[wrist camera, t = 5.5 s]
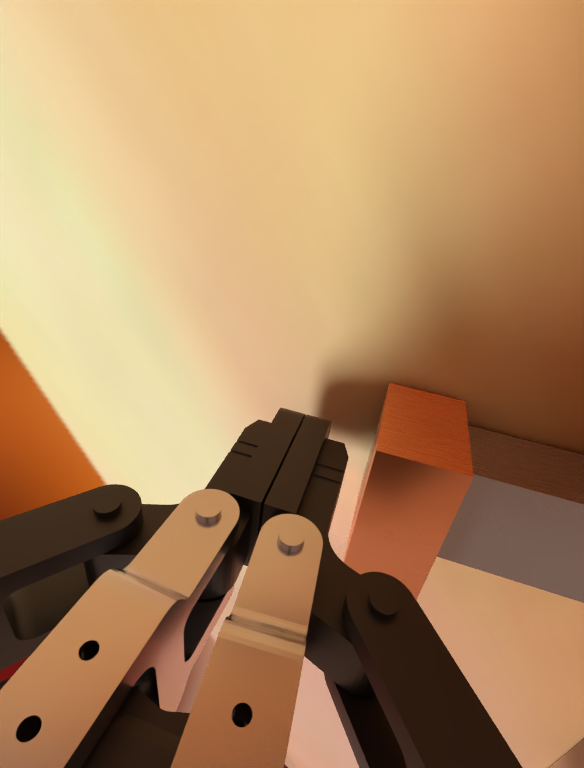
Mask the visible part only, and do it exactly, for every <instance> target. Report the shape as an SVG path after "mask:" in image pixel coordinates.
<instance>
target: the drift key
mask: <svg viewBox="0 0 584 768" xmlns="http://www.w3.org/2000/svg"><path fill="white" fill-rule="evenodd" d="M436 557H440V558H444V559H447V560H450V561H453V562H456V563H459V564H463V565H466V566H469V567H472V568H475V569H479V570H482V571H485V572H488V573H491V574H494V575H498V576H501V577H504V578H507V579H510V580H513V581H517V582H520V583H523V584H526V585H529V586H532V587H536V588H539V589H542V590H545V591H548V592H551V593H555V594H558V595H561V596H564V597H567V598H570V599H574V600H577V601H580V602H583V603H584V455H583V454H579V453H575V452H571V451H567V450H563V449H559V448H555V447H551V446H547V445H543V444H539V443H535V442H531V441H528V440H524V439H520V438H516V437H512V436H508V435H504V434H500V433H496V432H492V431H488V430H484V429H480V428H476V427H473V426H469V425H468V421H467V411H466V402H465V401H462V400H458V399H454V398H450V397H446V396H442V395H438V394H433V393H429V392H425V391H421V390H417V389H413V388H409V387H405V386H401V385H397V384H393V383H389V387H388V390H387V394H386V397H385V401H384V405H383V408H382V412H381V416H380V419H379V423H378V426H377V430H376V434H375V437H374V441H373V444H372V448H371V452H370V455H369V459H368V462H367V466H366V470H365V473H364V477H363V480H362V484H361V488H360V491H359V495H358V499H357V503H356V508H355V512H354V517H353V521H352V526H351V530H350V535H349V539H348V544H347V548H346V553H345V557H344V563H345V564H346V565H347V566H349V567H350V568H352V569H353V570H355V571H356V572H357V573H359V574H360V575H361V574H363V573H367V572H382V573H385V574H388V575H391V576H393V577H395V578H396V579H398V580H399V581H401V582H402V583H403V584H404V585H405V586H406V587H407V588H408V589H409V590H410V592H411V593H412V595H413V596H414V598H415V599H417V597H418V595H419V593H420V591H421V589H422V587H423V584H424V582H425V580H426V578H427V576H428V574H429V572H430V569H431V567H432V565H433V563H434V561H435V559H436Z"/></svg>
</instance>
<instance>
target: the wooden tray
mask: <svg viewBox="0 0 584 768" xmlns="http://www.w3.org/2000/svg"><path fill="white" fill-rule="evenodd" d="M549 768H584V739H583V740H581V741H580V742H579V743H578V744H577V745H575V746H574V747H573V748H572V749H571V750H570V751H568V752H567V753H566V754H565V755H564V756H562V757H561V758H560V759H559V760H558V761H556V762H555V763H554V764H553V765H552V766H550V767H549Z"/></svg>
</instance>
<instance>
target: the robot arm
mask: <svg viewBox="0 0 584 768" xmlns="http://www.w3.org/2000/svg"><path fill="white" fill-rule="evenodd" d="M330 427H331V421H328V420H325V419H321V418H317V417H314V416H310V415H305V414H302V413H299V412H295V411H291V410H288V409H284V408H280V409H279V411H278V413H277V414H276V416H275V418H274V419H273V421H272V423H269V422H266V421H262V420H257V421H256V422H254V423H253V424H251V425H249V426H248V427H246V428H245V429H244V431H243V432H242V434H241V435H240V437H239V438H238V440H237V442H236V443H235V444H234V446H233V447H232V449H231V451H230V452H229V453H228V455H227V456H226V458H225V459H224V461H223V462H222V464H221V465H220V467H219V468H218V470H217V471H216V473H215V474H214V476H213V477H212V479H211V480H210V482H209V483H208V485H207V486H206V488H205V489H203V490H199V491H196V492H193V493H191V494H190V495H188V496H187V497H185V498H184V499H183V500H182V501H181V503H180V504H175V505H153V504H141V498H140V496H139V494H138V493H137V492H136V491H135V490H134V489H132V488H130V487H128V486H124V485H117V484H115V485H105V486H102V487H98V488H95V489H92V490H89V491H86V492H84V493H81V494H78V495H75V496H72V497H69V498H66V499H63V500H60V501H57V502H55V503H51V504H48V505H45V506H42V507H39V508H36V509H33V510H31V511H27V512H25V513H22V514H19V515H16V516H13V517H10V518H7V519H4V520H1V521H0V670H2V669H4V668H6V667H8V666H10V665H12V664H14V663H16V662H18V661H20V660H22V659H24V658H26V657H28V656H30V655H31V656H30V657H29V658H28V659H27V660H26V661H25V662H24V664H23V665H22V666H21V667H20V668H19V669H18V671H17V672H16V673H15V674H14V675H13V676H12V677H11V678H9V679H6V680H4V681H2V682H0V768H288V767H287V766H286V765H285V758H286V753H287V747H288V742H289V736H290V731H291V725H292V720H293V714H294V709H295V703H296V698H297V692H298V687H299V681H300V676H301V670H302V665H303V659H304V656H305V657H306V658H307V659H309V660H310V661H311V662H312V663H313V664H314V665H316V666H317V667H318V668H319V669H320V670H322V671H323V672H324V676H325V680H326V684H327V686H328V689H329V691H330V694H331V697H332V699H333V702H334V704H335V707H336V709H337V712H338V714H339V717H340V719H341V722H342V724H343V727H344V730H345V732H346V735H347V737H348V740H349V742H350V745H351V747H352V750H353V752H354V755H355V757H356V760H357V763H358V765H359V768H522V766H521V765H520V763H519V762H518V760H517V758H516V757H515V755H514V754H513V752H512V751H511V749H510V747H509V746H508V744H507V743H506V741H505V740H504V738H503V736H502V735H501V733H500V732H499V730H498V728H497V727H496V725H495V724H494V722H493V721H492V719H491V717H490V716H489V714H488V713H487V711H486V710H485V708H484V706H483V705H482V703H481V702H480V700H479V699H478V697H477V695H476V694H475V692H474V691H473V689H472V688H471V686H470V684H469V683H468V681H467V680H466V678H465V676H464V675H463V673H462V672H461V670H460V669H459V667H458V665H457V664H456V662H455V661H454V659H453V658H452V656H451V654H450V653H449V651H448V650H447V648H446V647H445V645H444V643H443V642H442V640H441V639H440V637H439V635H438V634H437V632H436V631H435V629H434V628H433V626H432V624H431V623H430V621H429V620H428V618H427V617H426V615H425V613H424V612H423V610H422V609H421V607H420V606H419V604H418V602H417V601H416V599H415V598H414V596H413V595H412V593H411V592H410V590H409V589H408V588H407V587H406V586H405V585H404V584H403V583H402V582H401V581H399V580H398V579H396V578H395V577H393V576H391V575H388V574H385V573H382V572H367V573H363V574H361V575H360V574H359V573H357V572H356V571H355V570H353V569H352V568H350V567H349V566H347V565H346V564H345V563H344V562H342V561H341V560H340V559H339V558H338V557H337V555H336V554H335V553H334V551H333V549H332V547H331V545H330V542H329V538H328V533H329V529H330V526H331V522H332V519H333V515H334V511H335V508H336V504H337V500H338V497H339V493H340V489H341V485H342V481H343V477H344V473H345V469H346V465H347V461H348V454H347V451H346V448H345V444H344V443H341V442H337V441H334V440H330V439H328V437H329V432H330ZM243 565H246V566H248V567H247V570H246V573H245V576H244V579H243V582H242V584H241V587H240V590H239V593H238V596H237V599H236V602H235V605H234V607H233V610H232V612H231V614H230V616H229V617H228V616H227V617H226V619H225V621H224V623H223V625H222V627H221V629H220V632H219V635H218V637H217V640H216V643H215V646H214V648H213V651H212V654H211V657H210V660H209V662H208V665H207V668H206V671H205V673H204V676H203V679H202V682H201V685H200V688H199V690H198V693H197V696H196V698H195V701H194V704H193V707H192V710H191V712H190V713H181V712H175V711H176V709H177V707H178V705H179V703H180V700H181V698H182V695H183V692H184V689H185V686H186V682H187V679H188V676H189V674H190V672H191V669H192V667H193V665H194V663H195V661H196V659H197V658H198V656H199V654H200V652H201V650H202V649H203V647H204V645H205V643H206V641H207V639H208V638H209V636H210V634H211V632H212V630H213V628H214V627H215V625H216V623H217V621H218V619H219V617H220V615H221V614H222V612H223V610H224V608H225V606H226V604H227V603H228V601H229V599H230V597H231V595H232V593H233V590H234V584H235V582H236V580H237V577H238V575H239V573H240V571H241V569H242V566H243Z"/></svg>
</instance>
